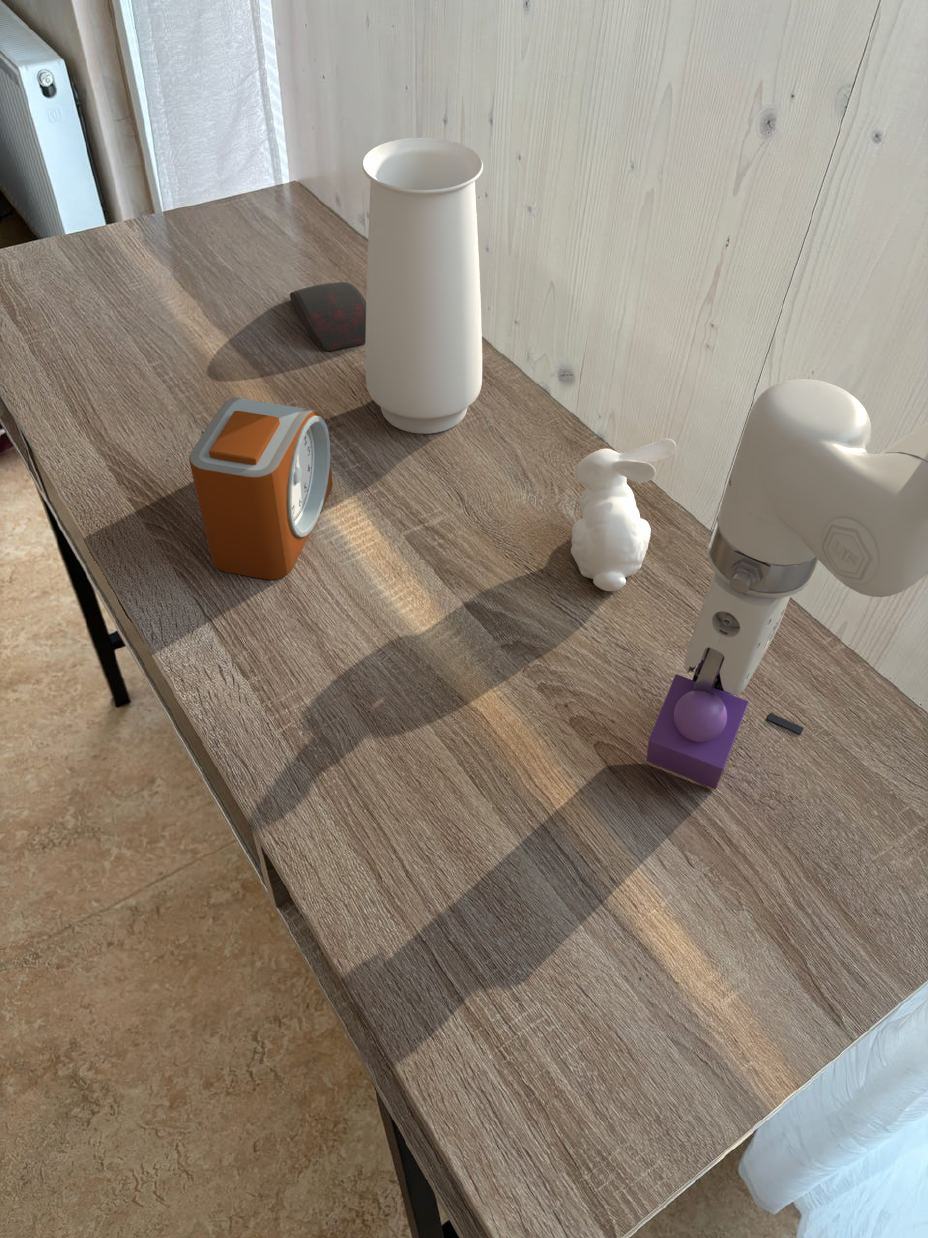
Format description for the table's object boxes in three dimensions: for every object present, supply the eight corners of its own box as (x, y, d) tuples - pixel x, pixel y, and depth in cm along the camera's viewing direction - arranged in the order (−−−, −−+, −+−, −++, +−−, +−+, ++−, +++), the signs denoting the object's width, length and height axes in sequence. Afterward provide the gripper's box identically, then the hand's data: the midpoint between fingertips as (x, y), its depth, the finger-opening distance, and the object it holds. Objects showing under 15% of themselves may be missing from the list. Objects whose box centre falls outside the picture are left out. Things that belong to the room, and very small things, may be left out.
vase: (344, 407, 116) (324, 161, 95) (424, 362, 122) (423, 122, 102) (423, 458, 110) (421, 208, 89) (504, 408, 116) (519, 164, 96)
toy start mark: (803, 728, 87) (803, 727, 87) (800, 734, 86) (800, 734, 86) (770, 713, 88) (770, 712, 88) (767, 719, 87) (767, 719, 87)
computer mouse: (315, 355, 123) (312, 325, 120) (283, 299, 131) (280, 270, 128) (378, 341, 125) (377, 312, 122) (343, 287, 133) (341, 259, 130)
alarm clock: (289, 584, 97) (272, 474, 87) (205, 569, 98) (179, 458, 88) (336, 486, 107) (326, 377, 97) (259, 473, 108) (241, 364, 98)
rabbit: (563, 516, 104) (575, 421, 95) (654, 518, 104) (674, 423, 95) (571, 602, 96) (585, 507, 87) (670, 604, 96) (694, 509, 87)
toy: (740, 724, 84) (754, 686, 76) (715, 789, 82) (727, 758, 74) (671, 698, 86) (678, 658, 78) (645, 761, 84) (649, 727, 76)
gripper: (777, 635, 66) (714, 784, 80) (848, 507, 75) (780, 661, 89) (672, 588, 69) (628, 741, 82) (753, 468, 77) (701, 625, 91)
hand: (707, 699), depth 86 cm, fingers closed
